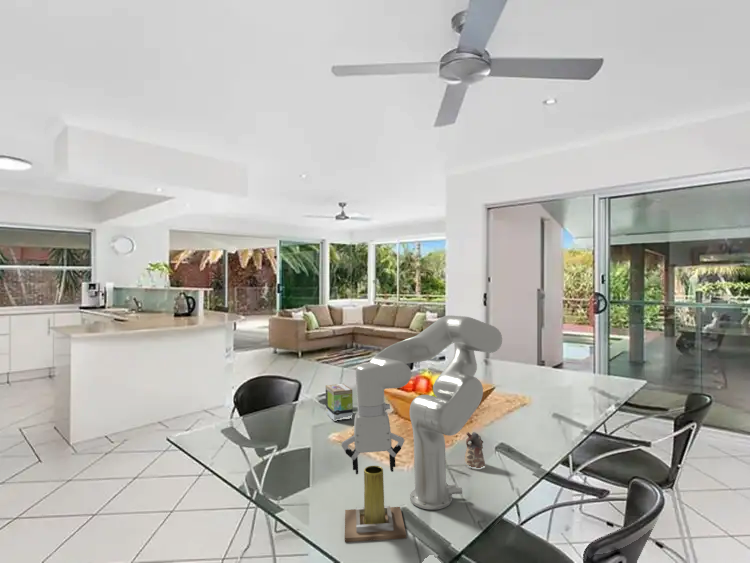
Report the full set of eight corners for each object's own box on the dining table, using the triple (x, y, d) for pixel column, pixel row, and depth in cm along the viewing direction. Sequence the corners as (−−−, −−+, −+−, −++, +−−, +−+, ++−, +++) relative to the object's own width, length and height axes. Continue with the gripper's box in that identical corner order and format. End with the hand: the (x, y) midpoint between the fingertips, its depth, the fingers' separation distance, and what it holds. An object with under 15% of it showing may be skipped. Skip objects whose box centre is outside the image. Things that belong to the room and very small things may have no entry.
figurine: (485, 470, 153) (484, 436, 153) (464, 469, 154) (464, 435, 154) (484, 462, 160) (483, 429, 160) (464, 461, 161) (464, 428, 161)
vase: (373, 512, 125) (372, 463, 125) (390, 519, 122) (389, 468, 122) (359, 522, 121) (357, 470, 121) (376, 530, 117) (375, 476, 117)
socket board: (400, 510, 129) (399, 501, 129) (406, 538, 115) (405, 528, 115) (345, 513, 128) (345, 504, 128) (344, 542, 114) (344, 532, 114)
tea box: (353, 419, 213) (352, 389, 213) (333, 422, 209) (332, 391, 209) (344, 411, 227) (343, 382, 227) (325, 413, 223) (324, 384, 223)
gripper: (400, 403, 125) (403, 462, 126) (340, 407, 124) (343, 467, 125) (404, 411, 118) (407, 474, 118) (339, 416, 117) (342, 479, 117)
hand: (374, 470), depth 121 cm, fingers open, 9 cm apart
